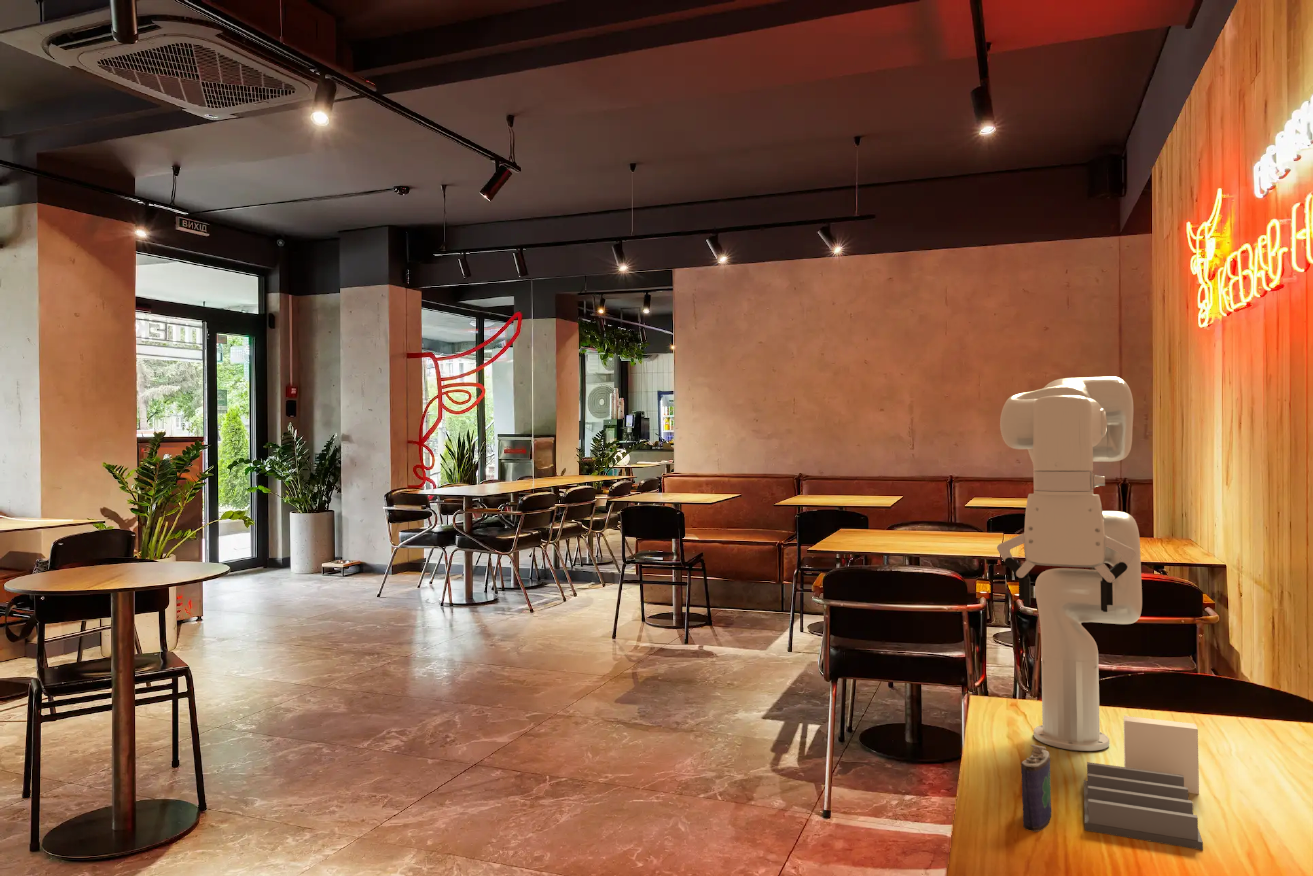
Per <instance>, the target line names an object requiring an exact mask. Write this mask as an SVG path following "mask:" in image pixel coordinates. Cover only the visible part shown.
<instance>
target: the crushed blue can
mask: <svg viewBox="0 0 1313 876" xmlns="http://www.w3.org/2000/svg"><path fill="white" fill-rule="evenodd" d="M1030 747H1032V749H1033V750H1032V751H1031V755H1030V756H1029V757H1026V758H1025V759H1024V760H1022V761H1021V763H1020V765H1021V766H1020V767H1021V769H1020V770H1021V788H1022V789H1021V791H1022V792H1021V798H1022V801H1021V802H1022V828H1024V829H1025V830H1026V831H1030V832H1040V831H1043V830H1044V829H1045V828H1046V827H1047V826H1048V825H1049V824H1050V821H1051V818H1052V813H1053V812H1052V801H1051V800H1052V798H1051V796H1052V794H1051V793H1052V791H1051V753H1050V752H1049V751H1048V750H1047V748H1046V746H1040V745H1038V744H1037V745H1036V744H1034V743H1033V744H1030Z"/></svg>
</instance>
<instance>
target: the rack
mask: <svg viewBox="0 0 1313 876" xmlns="http://www.w3.org/2000/svg"><path fill="white" fill-rule="evenodd" d="M1086 768H1087V769H1086V773H1087V774H1086V775H1087V776H1086V779H1087V780H1083V797H1084V798H1083V801H1084V802H1083V803H1084V804H1083V807H1084V810H1083V813H1084V831H1087V832H1092V833H1093V832H1094V833H1097V834H1098V833H1100V834H1106V835H1111V836H1117V837H1123V838H1128V839H1129V838H1130V839H1135V840H1141V841H1147V842H1153V843H1159V844H1164V845H1170V846H1177V847H1182V848H1183V847H1184V848H1190V849H1196V850H1202V851H1203V850H1204V843H1203V839H1202V836H1201V833H1200V830H1199V822H1198V821H1199V820H1198V815H1197V814H1194V806H1193V805H1194V803H1193V801H1192V800H1190V799H1189V793H1188V788H1187V787H1184V776H1183V775H1179V774H1172V773H1164V772H1157V771H1149V770H1142V769H1135V768H1127V767H1125V766H1119V765H1111V764H1103V763H1096V762H1090V761H1089V762H1088V761H1086Z"/></svg>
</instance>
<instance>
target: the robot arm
mask: <svg viewBox="0 0 1313 876" xmlns="http://www.w3.org/2000/svg"><path fill="white" fill-rule="evenodd" d="M999 420H1000V421H999V422H1000V423H999V428H1000V429H999V430H1000V434H1001V437H1002V440H1003V442H1004V443H1005V445H1006V446H1007V447H1008V448H1011V449H1014V450H1027V452H1028V455H1029V458H1030V460H1031V462H1032V466H1033V469H1032V471H1033V473H1032V474H1033V493H1028V495H1027V499H1026V506H1025V513H1024V515H1025V516H1024V532H1023V533H1021V534H1019V535H1017V536H1016V535H1015V536H1014V537H1012V538H1010V539H1008V540H1005V541H1003V542H1001V543H999V544H998V545H997V547H996V549H997V552H998V553H999V555H1000V557H1001V558H1002V560H1003V562H1004V565H1005V566H1007V567H1008V569H1010V570H1011V571H1012V572H1013V573H1014V574H1015V575H1016V577H1018V600H1023V603H1024V604H1023V606H1024V607H1027V608H1029V607H1030V606H1031V602H1032V601H1031V577H1030V576H1029V572H1030V571H1031V570H1032V569H1033V568H1034V567H1035V566H1047V567H1048V566H1049V567H1051V566H1052V567H1060V568H1050V569H1045V571H1042V572H1041V573H1040V574H1039V575H1038V576H1037V578H1036V580H1035V583H1034V584H1035V586H1034V588H1035V589H1034V591H1035V599H1036V604H1037V605H1036V606H1037V611H1038V616H1039V627H1040V644H1041V645H1040V646H1041V650H1040V651H1041V657H1040V658H1041V709H1042V711H1041V713H1042V715H1041V716H1042V717H1041V718H1042V724H1041V725H1039V726H1036V727H1035V728H1033V737H1034V739H1036V740H1037V741H1038V742H1040V743H1042V744H1044V745H1048V746H1051V747H1054V748H1058V749H1063V750H1070V751H1077V752H1078V751H1081V752H1094V751H1100V750H1105V749H1107V748H1108V747H1109V746H1110V738H1109V737H1108V735H1106V734H1105V733H1103V732H1101V731H1100V728H1101V727H1100V723H1101V722H1100V684H1099V681H1100V675H1099V673H1100V672H1099V671H1100V670H1099V650H1098V645H1097V642H1096V641H1095V639H1094V637H1093V636H1092V635H1091V634H1090V632H1089V631H1088V630H1087V629H1086V628H1085V627H1084V626H1083V625H1082V623H1097V624H1098V623H1100V624H1101V623H1102V624H1115V625H1131V624H1134V623H1136V622H1138V620H1139V619H1140V618H1141V614H1142V609H1143V589H1142V588H1143V586H1142V585H1143V584H1142V560H1141V540H1140V532H1139V527H1138V524H1137V521H1136V519H1135V518H1134V517H1133V516H1132V515H1131V514H1129V513H1127V512H1125V511H1121V510H1119V511H1117V510H1103V507H1102V505H1103V504H1102V501H1101V496H1100V494H1094V489H1096V487H1098V488H1099V487H1100V486H1101V487H1102V486H1103V487H1106V478H1105V477H1106V476H1104V475H1103V476H1102V475H1098V474H1096V473H1094V472H1093V471H1094V462H1099V463H1100V462H1101V463H1102V462H1105V463H1106V462H1110V463H1111V462H1120V461H1122V460H1124V459H1126V458H1127V457H1128V456H1129V454H1130V452H1131V449H1132V444H1133V424H1134V423H1133V422H1134V399H1133V394H1132V391H1131V388H1130V387H1129V385H1128V383H1127V381H1125V380H1124V379H1122V378H1121V377H1118V376H1110V375H1109V376H1089V377H1087V376H1085V377H1065V378H1058V379H1055V380H1052V381H1050V382H1049V383H1047V384H1046V385H1045V386H1044V387H1043V388H1040V389H1036V390H1032V391H1027V392H1021V393H1017V394H1014V395H1010V396H1009V398H1007V399H1006V401H1005V402H1004V404H1003V407H1002V409H1001V413H1000V419H999ZM1020 545H1023V546H1024V547H1023V551H1024V558H1025V561H1023V563H1022V564H1020V563H1019V562H1018V561H1017V560H1016V559H1015V558H1014V557H1013V554H1012V553H1011V550H1013V549H1014V548H1017V547H1019V546H1020ZM1107 564H1108V565H1110V566H1111V567H1110V568H1109V567H1108V566H1107ZM1069 567H1070V568H1069ZM1071 567H1072V568H1071ZM1084 568H1085V569H1084ZM1088 568H1094V569H1088Z"/></svg>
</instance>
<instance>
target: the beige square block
mask: <svg viewBox="0 0 1313 876" xmlns="http://www.w3.org/2000/svg"><path fill="white" fill-rule="evenodd" d="M1196 724H1197V723H1193V722H1192V723H1191V722H1181V721H1174V720H1167V719H1166V720H1164V719H1155V718H1148V717H1138V716H1128V715H1123V745H1124V746H1123V749H1124V750H1123V754H1124V757H1123V759H1124V762H1123V763H1124V766H1123V767H1127V768H1135V769H1142V770H1149V771H1157V772H1164V773H1172V774H1179V775H1183V776H1184V787H1187V788H1188V794H1189V793H1191V794H1195V795H1196V794H1197V795H1199V794H1200V781H1199V780H1200V778H1199V776H1200V774H1199V768H1200V767H1199V766H1200V765H1199V729H1198V727H1197V725H1196Z"/></svg>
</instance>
